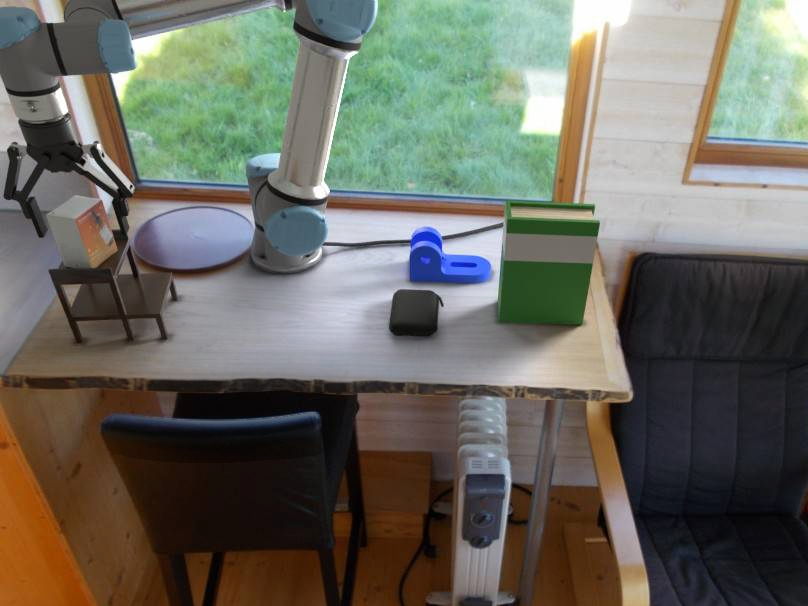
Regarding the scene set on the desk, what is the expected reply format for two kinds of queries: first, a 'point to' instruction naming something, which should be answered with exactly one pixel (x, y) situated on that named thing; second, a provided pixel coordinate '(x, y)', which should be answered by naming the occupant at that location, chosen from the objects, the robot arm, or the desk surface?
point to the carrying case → (414, 313)
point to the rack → (114, 291)
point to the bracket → (443, 261)
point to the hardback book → (546, 261)
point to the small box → (82, 232)
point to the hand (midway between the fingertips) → (85, 232)
